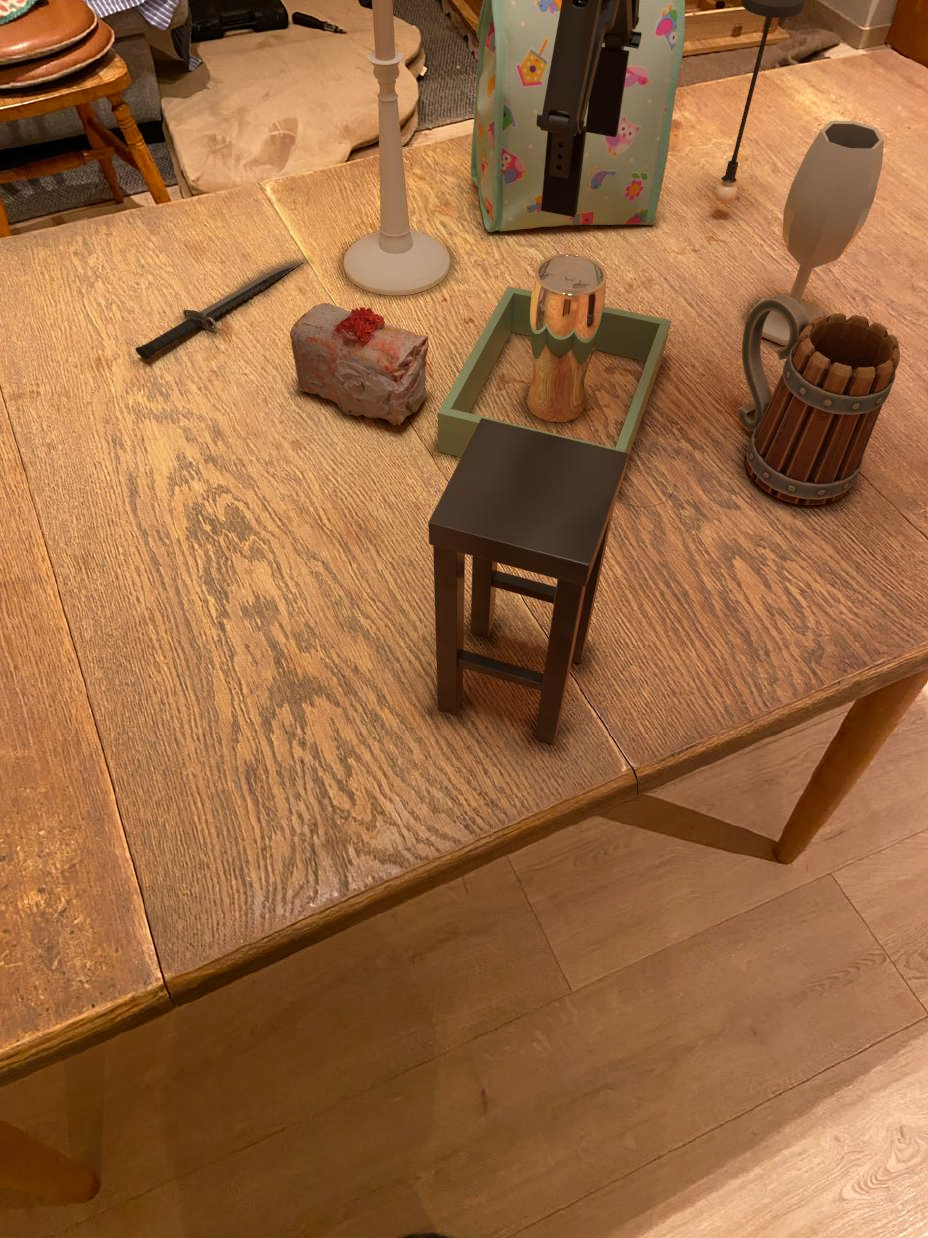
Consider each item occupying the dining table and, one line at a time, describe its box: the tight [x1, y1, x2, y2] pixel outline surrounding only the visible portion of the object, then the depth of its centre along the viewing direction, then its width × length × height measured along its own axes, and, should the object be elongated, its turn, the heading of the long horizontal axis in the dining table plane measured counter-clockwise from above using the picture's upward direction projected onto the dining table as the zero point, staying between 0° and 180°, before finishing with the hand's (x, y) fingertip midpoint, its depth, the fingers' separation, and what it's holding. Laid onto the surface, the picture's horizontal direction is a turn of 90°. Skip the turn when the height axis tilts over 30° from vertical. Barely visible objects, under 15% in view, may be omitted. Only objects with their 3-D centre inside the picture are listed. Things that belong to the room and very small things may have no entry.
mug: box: [737, 293, 901, 506], centre depth 83 cm, size 16×11×15 cm
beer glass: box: [526, 253, 608, 423], centre depth 87 cm, size 7×7×15 cm
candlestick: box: [343, 0, 451, 297], centre depth 96 cm, size 13×13×30 cm
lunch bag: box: [470, 0, 686, 233], centre depth 106 cm, size 23×16×27 cm
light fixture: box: [714, 0, 808, 205], centre depth 105 cm, size 7×7×25 cm
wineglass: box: [748, 120, 885, 346], centre depth 93 cm, size 9×9×21 cm
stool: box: [427, 418, 629, 745], centre depth 64 cm, size 10×10×22 cm
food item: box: [289, 302, 430, 427], centre depth 90 cm, size 14×8×10 cm, turn 64°
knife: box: [135, 261, 304, 360], centre depth 102 cm, size 25×2×5 cm
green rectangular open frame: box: [437, 285, 672, 458], centre depth 91 cm, size 18×22×5 cm
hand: (581, 170), depth 74 cm, fingers open, 13 cm apart
